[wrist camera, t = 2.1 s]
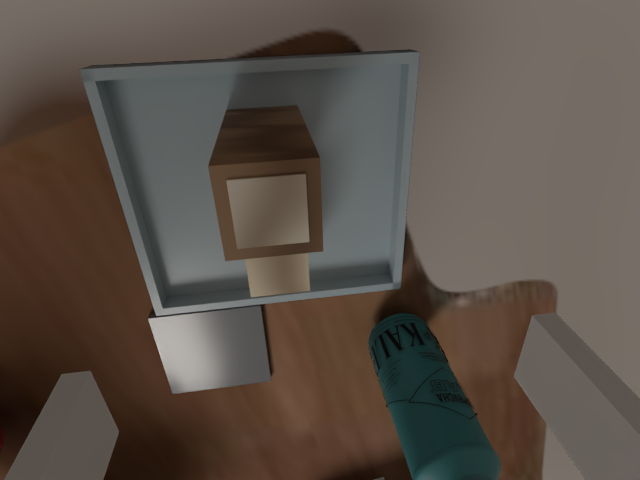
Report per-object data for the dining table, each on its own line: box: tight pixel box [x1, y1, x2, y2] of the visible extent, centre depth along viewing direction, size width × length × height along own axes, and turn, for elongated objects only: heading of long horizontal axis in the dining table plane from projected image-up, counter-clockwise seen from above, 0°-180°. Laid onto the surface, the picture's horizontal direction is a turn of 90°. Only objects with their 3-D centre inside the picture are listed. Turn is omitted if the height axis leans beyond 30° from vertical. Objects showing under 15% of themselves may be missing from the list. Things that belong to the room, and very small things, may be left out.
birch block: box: [245, 253, 310, 297], centre depth 31 cm, size 4×4×5 cm
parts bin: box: [79, 50, 420, 316], centre depth 31 cm, size 21×19×2 cm
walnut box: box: [208, 105, 323, 261], centre depth 24 cm, size 5×5×12 cm
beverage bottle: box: [368, 313, 501, 480], centre depth 32 cm, size 6×7×20 cm
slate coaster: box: [148, 304, 271, 394], centre depth 39 cm, size 10×10×1 cm
